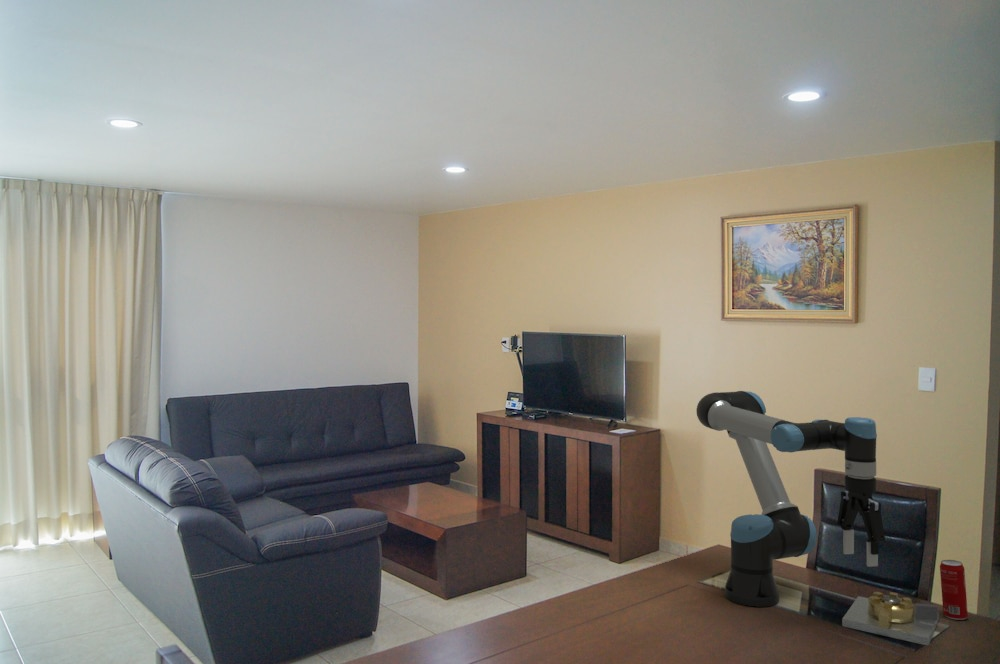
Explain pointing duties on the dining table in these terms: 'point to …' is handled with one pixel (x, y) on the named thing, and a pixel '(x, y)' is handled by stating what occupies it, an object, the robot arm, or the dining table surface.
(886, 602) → the gold knob with handle
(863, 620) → the flange plate
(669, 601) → the dining table surface
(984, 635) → the dining table surface
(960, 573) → the beverage can
